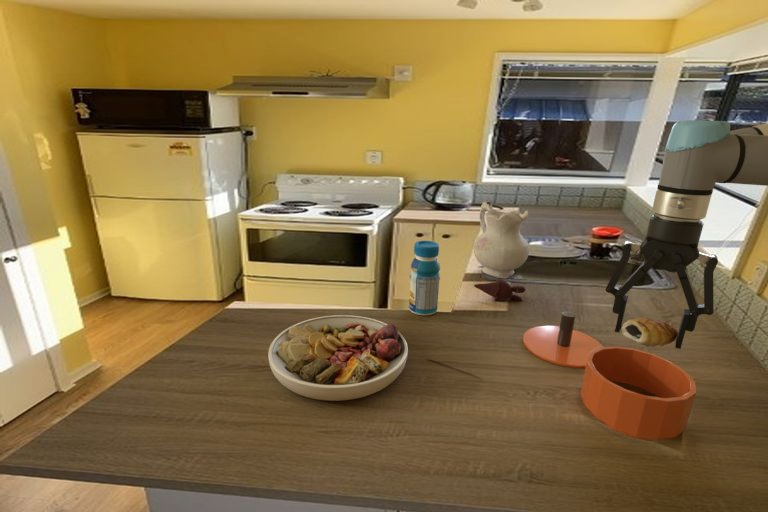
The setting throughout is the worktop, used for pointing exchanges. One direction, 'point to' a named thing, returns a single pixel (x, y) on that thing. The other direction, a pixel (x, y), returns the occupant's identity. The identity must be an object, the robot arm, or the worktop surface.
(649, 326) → the pastry
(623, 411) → the pot
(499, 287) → the icecream
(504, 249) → the ceramic pitcher
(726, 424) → the worktop surface
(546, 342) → the pot lid
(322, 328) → the bowl
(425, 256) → the beverage bottle
